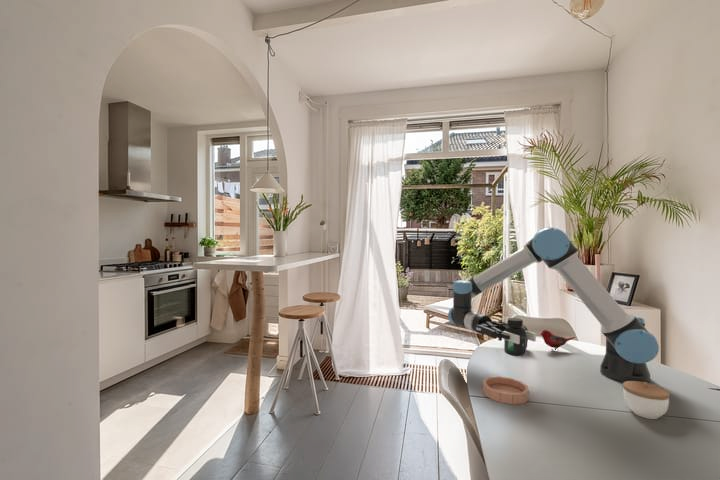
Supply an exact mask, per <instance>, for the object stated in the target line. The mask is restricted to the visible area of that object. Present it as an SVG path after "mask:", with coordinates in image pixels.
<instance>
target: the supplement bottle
mask: <svg viewBox="0 0 720 480" xmlns="http://www.w3.org/2000/svg"><path fill="white" fill-rule="evenodd" d="M523 323H524V322H523V319H522V318H520V317H519V318H517V317H508V318H507V324H508V326H506V327H505V330H504V331H506V332H509V333H513V334H516V335H519V336H520V344H516V343H513V342H511V341H508V340H505V339H503V340H504V341H503V342H504V344H503V345H504V346H503V347H504V353H505V354H507V355H510V356H512V357H524V356H525V355H526V354H527V353H526V351H527V349H526V330H525V329H524V328H523V327H522V326H523V325H524V324H523Z"/></svg>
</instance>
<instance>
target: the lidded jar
mask: <svg viewBox="0 0 720 480" xmlns="http://www.w3.org/2000/svg"><path fill="white" fill-rule="evenodd" d="M622 387H623V388H622V389H623V398H624V400H625V403H626V405H627V407H628V408H630V410H631V411H632V412H633V413H634V414H635V415H636V416H638V417H640V418H645V419H649V420H658V419H659V418H660V417H662V416H664V415H665V414H666V412H667V411H668V409H669V406H670V395H671V393H670V392H669V391H668V390H667V389H666V388H663V387H661V386H659V385H657V384H653V383H650V382H649V383H647V382H640V381H626V382H623V383H622Z"/></svg>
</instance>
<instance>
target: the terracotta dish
mask: <svg viewBox="0 0 720 480" xmlns="http://www.w3.org/2000/svg"><path fill="white" fill-rule="evenodd" d="M482 380H483V381H482V394H484V396H486V397H487V398H488V399H491V400H493V401H495V402H499V403H502V404H508V405H509V404H510V405H518V404H519V405H520V404H525V403H526V402H528V401H530V389H529V386H528V385H527V384H525V383H524V382H523V381H521V380H518V379H515V378H513V377H506V376H488V377H486V378H484V379H482Z"/></svg>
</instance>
